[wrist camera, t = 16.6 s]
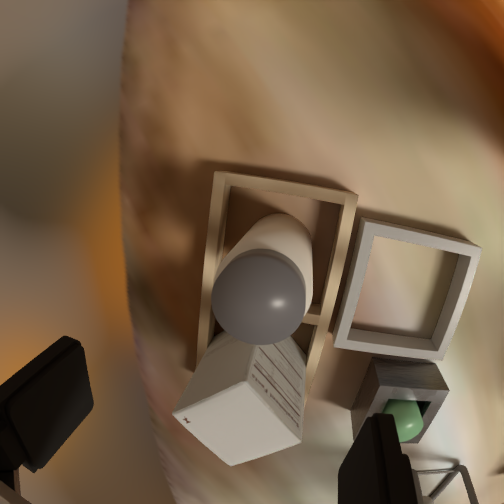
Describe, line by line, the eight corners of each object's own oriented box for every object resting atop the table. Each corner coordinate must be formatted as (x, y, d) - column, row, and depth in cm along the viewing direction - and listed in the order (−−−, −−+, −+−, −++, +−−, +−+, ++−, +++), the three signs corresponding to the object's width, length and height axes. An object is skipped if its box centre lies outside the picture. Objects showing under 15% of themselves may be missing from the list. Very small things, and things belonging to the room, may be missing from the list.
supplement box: (253, 383, 35) (228, 468, 23) (211, 335, 34) (167, 413, 22) (309, 355, 32) (304, 444, 20) (268, 301, 32) (243, 380, 20)
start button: (384, 377, 31) (394, 414, 25) (416, 380, 30) (429, 416, 25) (372, 404, 32) (379, 441, 26) (403, 407, 31) (413, 442, 26)
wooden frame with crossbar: (222, 170, 29) (214, 171, 27) (354, 192, 27) (358, 195, 25) (201, 376, 35) (194, 389, 33) (303, 398, 34) (302, 412, 32)
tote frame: (360, 216, 28) (365, 221, 25) (470, 241, 26) (482, 248, 24) (332, 334, 31) (333, 347, 29) (435, 348, 30) (442, 360, 27)
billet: (251, 208, 29) (209, 241, 17) (317, 219, 29) (323, 262, 16) (242, 270, 31) (200, 338, 19) (305, 281, 30) (300, 359, 18)
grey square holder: (372, 357, 31) (380, 385, 26) (435, 363, 30) (449, 390, 25) (350, 410, 33) (353, 440, 29) (409, 415, 32) (417, 443, 28)
